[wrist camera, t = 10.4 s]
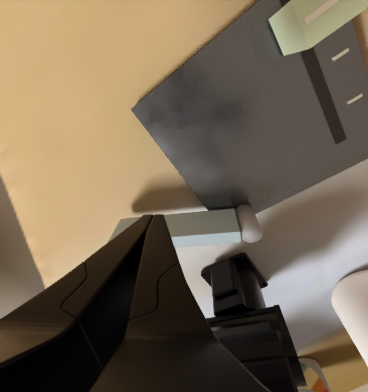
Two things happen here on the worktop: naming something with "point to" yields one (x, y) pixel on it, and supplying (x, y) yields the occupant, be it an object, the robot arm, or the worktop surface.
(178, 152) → the console
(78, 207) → the worktop surface
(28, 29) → the worktop surface
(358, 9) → the fader knob
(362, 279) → the alcohol
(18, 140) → the worktop surface
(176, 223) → the door
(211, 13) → the worktop surface
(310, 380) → the lotion bottle
